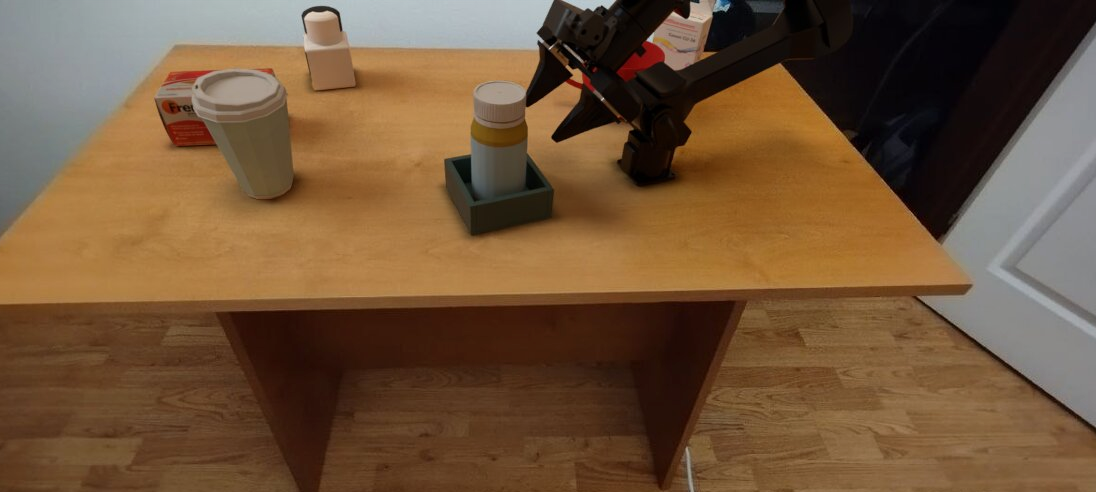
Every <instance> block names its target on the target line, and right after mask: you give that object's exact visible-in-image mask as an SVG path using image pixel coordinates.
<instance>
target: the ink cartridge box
mask: <svg viewBox="0 0 1096 492" xmlns="http://www.w3.org/2000/svg"><path fill="white" fill-rule="evenodd" d="M716 1H717V0H699V3H697V2H693V1H690V8H691V10H690V16H689V18H688V19H684V18H683V17H681V16H679V15H678V14H676V13H675V12H672V14H671V15H670V16H669V17H668V18H667V19H666V20H665V21H664V22H663V23H662V24H661V25H660V26H659V27H658V28H657V30H656V31H655V32H654V33H653V36H652V41H651V43H653V44H655V45H657V46H658V47H660V48H661V49H662V50H663V52H664V54H665V61H664V63H665V64H667V65H668V66H669V67H671V68H672V69H673V70H680V69H683V68H685V67H687V66H689V65H692V64H694V63H696V62H698V61H700V60H702V59H703V54H704V50H705V46H706V44H707V39H708V35H709V32H710V28H711V25H712V20H713V19H714V15H713V13H714V9H715V4H716Z"/></svg>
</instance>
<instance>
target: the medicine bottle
mask: <svg viewBox="0 0 1096 492" xmlns="http://www.w3.org/2000/svg"><path fill="white" fill-rule="evenodd" d="M300 16H301V20H302V26H303V30H304V33H303V35H302V39H303V47H304V54H305V59H306V64H307V68H308V72H309V77H310V83H311V86H312V89H313V91H323V90H324V91H325V90H334V89H335V90H336V89H345V88H354V87H356V78H355V71H354V65H353V59H352V54H351V48H350V44H349V39H348V36H347V32H346V31H345V30H344V29H343V25H342V24H343V23H342V18H341V13H340V11H339V10H338V9H337V8H335V7H331V6H328V5H316V6H315V5H314V6H311V7H308V8H306V9H304V10H303V11H302V12H301V15H300Z"/></svg>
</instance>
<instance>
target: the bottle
mask: <svg viewBox="0 0 1096 492" xmlns="http://www.w3.org/2000/svg"><path fill="white" fill-rule="evenodd" d="M526 91H527V90H526V89H525V88H524V87H523V86H521V85H520V84H518V83H516V82H513V81H509V80H489V81H485V82H482V83H479V84H478V85H476V87H474V89H473V92H472V101H473V119H472V121H471V124H470V154H471V171H472V196H473V198H474V200H475V201H480V200H485V199H490V198H495V197H500V196H505V195H510V194H515V193H520V192H525V181H526V162H527V153H528V140H529V127H528V123H527V121H526V109H527V107H526Z"/></svg>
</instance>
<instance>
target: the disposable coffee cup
mask: <svg viewBox="0 0 1096 492" xmlns="http://www.w3.org/2000/svg"><path fill="white" fill-rule="evenodd" d="M253 69H254V68H237V67H235V68H228V69H218V70H219V71H213V72H211V73H208V74H206V75H203V76H201V77H199V78H197V80H196V81H195V83H194V85H193V86H192V91H193V93H194V94H193V96H192V104H193V109H194V111H195V112H196V114H197V115H198V117H201V118H202V119H203V121H204V123H205V125H206V126H207V128H208V130H209V132H210V133H211V135H212V137H213V139H214V140H215V142H216V144H215V145H216V146H217V147H218V149H219V151H220V153H221V155H222V156H223V158H224V160H225V162H226V163H227V165H228V167H229V169H230V171H231V172H232V174H233V176H234V178H235V179H236V181H237V183H238V185H239V186H240V188H241V189H242V191H243V193H244V194H245V193H246V195H247V196H248V197H250V198H254V199H256V200H271V199H275V198H278V197H281V196H283V195H284V194H286V193H287V192H288V191H290V190H291V188H292V185H293V182H294V178H295V174H294V163H293V162H294V161H293V153H292V152H293V151H292V143H291V141H292V140H291V130H290V121H289V120H290V119H289V110H288V95H289V94H288V92H287V89H286V87H285V85H283V83H282V81H280V80H279V78H277V76H275V77H273V75H271V74H267V73H264V72H261V71H258V70H253Z"/></svg>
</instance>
